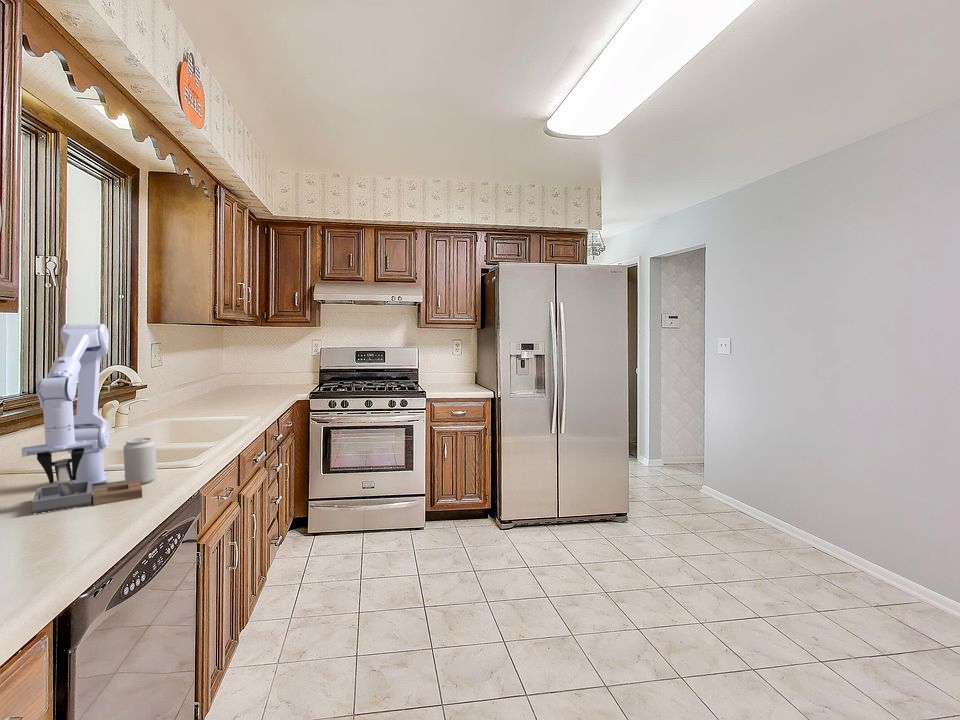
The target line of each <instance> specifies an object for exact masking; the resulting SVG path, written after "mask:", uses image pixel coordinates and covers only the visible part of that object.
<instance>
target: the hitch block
mask: <svg viewBox="0 0 960 720" xmlns="http://www.w3.org/2000/svg"><path fill="white" fill-rule="evenodd" d="M135 498H136V499H141V498H142V499H143V488H142V485H141V482H140V480H138V481H131V482H126V481H125V482H118V483H112V484H106V485H100V486H99V485H98V486H93V494H92V501H93V506H98V505H97V504H99V505H103V504H111V503H116V502H123V501H128V500H135Z"/></svg>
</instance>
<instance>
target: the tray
mask: <svg viewBox="0 0 960 720" xmlns="http://www.w3.org/2000/svg"><path fill="white" fill-rule="evenodd" d="M73 485H74V490H75V494H73V495H69V496H63V497H60V495H59V489H58V484H57V485H56V484H55V485H49V486H43V487H42V486H41V487H37V489H36V492H35V494H34V496H33V499H32V500H31V514H32V515H33V514H34V513H41V514H43V513H42V512H47V513H49V512H48V511H53V512H55V511H54V510H59V511H61V510H60V509H65V510H68V509H67V508H71V509H74V508H73V507H77V508H83V507H82V506H84V507H89V506H88V505H90V506H92V503H91V502H92V501H93V493H94V489H93V485H92V480H90V481H83V482H76V483H73Z"/></svg>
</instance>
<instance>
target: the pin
mask: <svg viewBox="0 0 960 720" xmlns="http://www.w3.org/2000/svg"><path fill="white" fill-rule="evenodd" d="M71 462H72V459H71V457H70V458H63V459H62V458H61V459H57V460H54V461H52V463H51V464H52V467H54V471H55V478H56V483H57V485H58V489H59V495H60V497H63V496H69V495H73V494H75V490H74V485H73V480H72V466H71Z"/></svg>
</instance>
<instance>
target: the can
mask: <svg viewBox="0 0 960 720" xmlns="http://www.w3.org/2000/svg"><path fill="white" fill-rule="evenodd" d="M125 443H126V444H124V446H123V448H122V449H123V465H124V466H123V467H124V481H125V482H131V481H138V480H140V482H141V484H142V485H146V484H150V483H152V482H154V481H155V480H156V479H157V477H158V470H157V469H158V467H157V451H156V450H157V447H156V443H155V442H154V441H153V438H152V437H137V438H131V439H128V440H126V441H125Z"/></svg>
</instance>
